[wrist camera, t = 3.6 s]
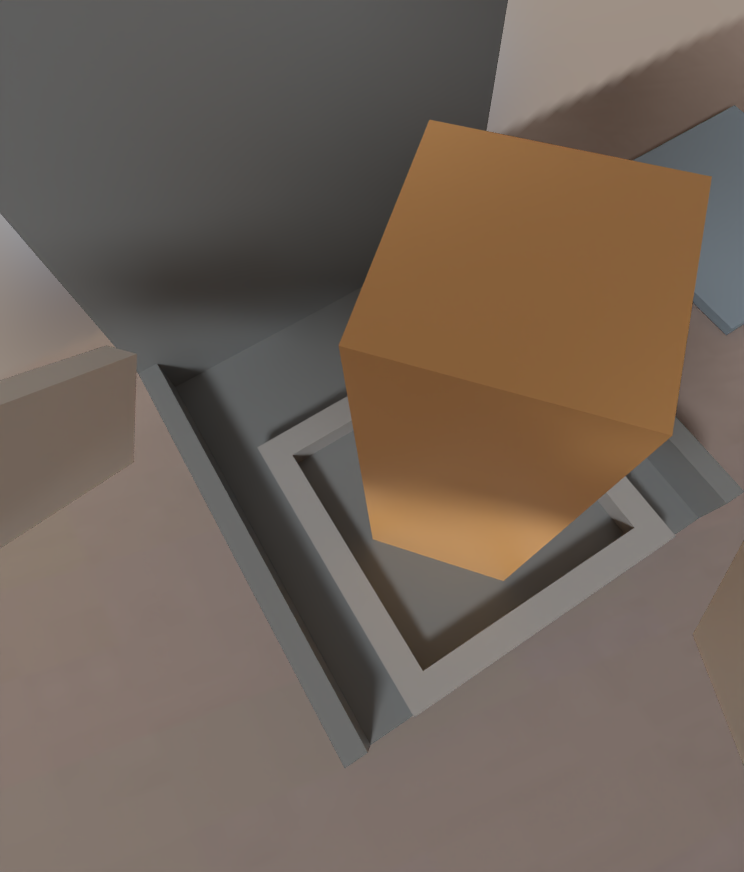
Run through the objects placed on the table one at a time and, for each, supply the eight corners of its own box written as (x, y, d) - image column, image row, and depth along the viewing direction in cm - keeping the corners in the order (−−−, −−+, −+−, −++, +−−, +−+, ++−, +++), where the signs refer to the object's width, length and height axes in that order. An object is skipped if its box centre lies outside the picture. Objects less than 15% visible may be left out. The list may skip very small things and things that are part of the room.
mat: (882, 237, 28) (890, 229, 28) (726, 335, 26) (732, 329, 26) (729, 113, 31) (734, 105, 31) (582, 193, 30) (585, 185, 29)
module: (533, 457, 23) (712, 176, 10) (503, 581, 21) (671, 435, 8) (411, 422, 24) (429, 119, 11) (372, 539, 22) (338, 345, 9)
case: (695, 516, 23) (1380, 159, 7) (353, 753, 21) (193, 1049, 4) (443, 223, 29) (500, -331, 13) (152, 377, 27) (-225, -82, 10)
